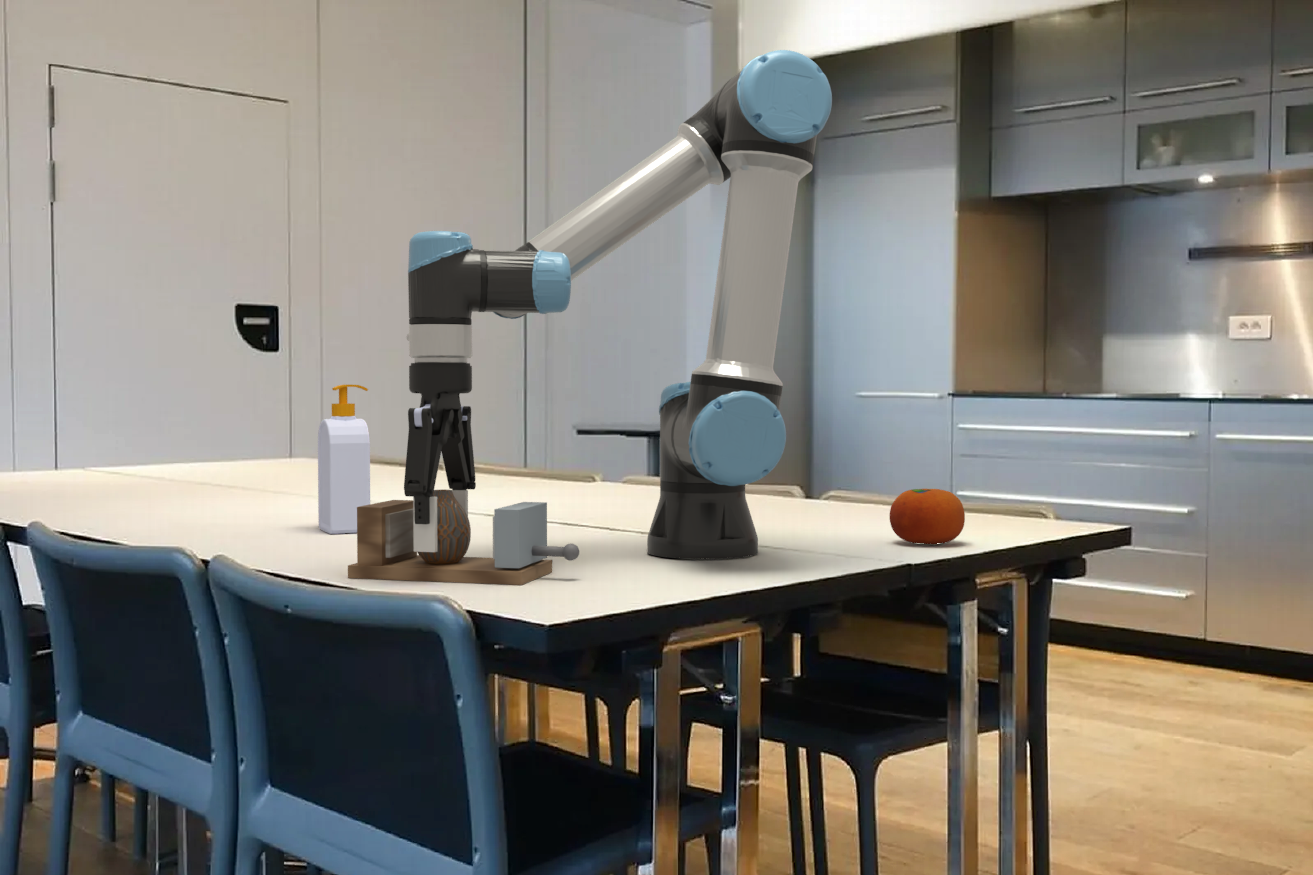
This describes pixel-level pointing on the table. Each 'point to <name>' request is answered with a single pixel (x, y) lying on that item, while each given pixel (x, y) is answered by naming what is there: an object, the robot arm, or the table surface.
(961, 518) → the fruit
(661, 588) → the table surface
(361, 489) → the soap bottle
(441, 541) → the vase
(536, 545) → the jaw
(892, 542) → the table surface
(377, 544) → the vise base
